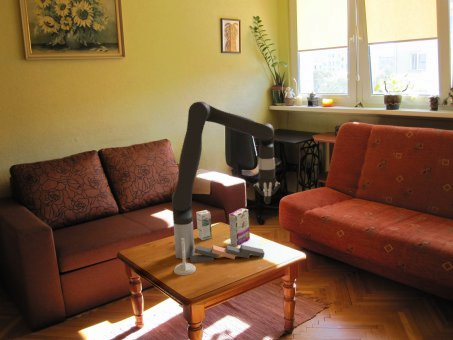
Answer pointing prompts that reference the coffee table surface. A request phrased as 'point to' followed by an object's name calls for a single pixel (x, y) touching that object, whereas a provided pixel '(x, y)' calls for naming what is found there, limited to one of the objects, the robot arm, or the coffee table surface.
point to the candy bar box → (239, 226)
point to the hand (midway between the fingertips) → (267, 203)
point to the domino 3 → (222, 252)
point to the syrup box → (204, 224)
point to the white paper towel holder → (184, 264)
